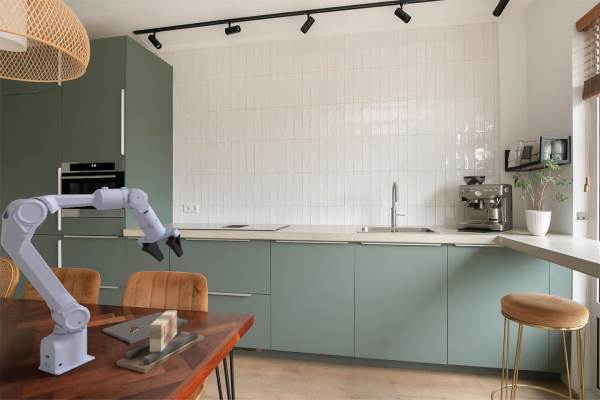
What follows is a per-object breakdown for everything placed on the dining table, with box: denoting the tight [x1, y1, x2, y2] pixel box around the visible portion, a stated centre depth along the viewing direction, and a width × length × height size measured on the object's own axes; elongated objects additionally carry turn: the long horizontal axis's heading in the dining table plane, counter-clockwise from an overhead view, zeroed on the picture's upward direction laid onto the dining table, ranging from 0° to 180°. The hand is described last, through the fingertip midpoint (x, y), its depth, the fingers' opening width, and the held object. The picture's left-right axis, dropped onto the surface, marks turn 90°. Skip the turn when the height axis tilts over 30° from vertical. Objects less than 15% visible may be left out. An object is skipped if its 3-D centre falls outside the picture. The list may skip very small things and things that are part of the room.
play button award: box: [103, 311, 189, 344], centre depth 112 cm, size 16×2×20 cm
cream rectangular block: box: [149, 309, 178, 352], centre depth 94 cm, size 12×3×7 cm, turn 1°
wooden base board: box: [116, 328, 206, 374], centre depth 94 cm, size 22×10×2 cm, turn 156°
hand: (171, 257), depth 108 cm, fingers open, 7 cm apart
